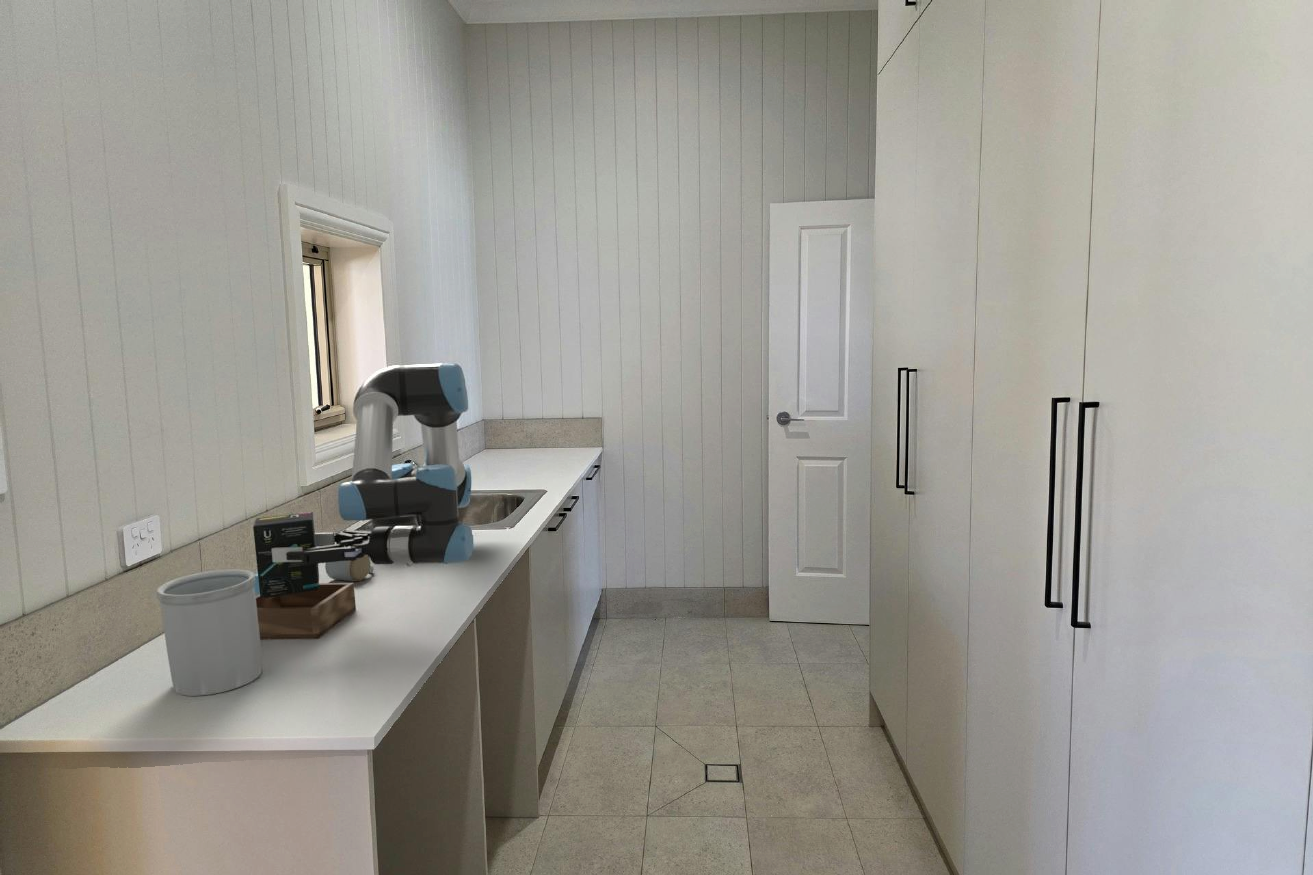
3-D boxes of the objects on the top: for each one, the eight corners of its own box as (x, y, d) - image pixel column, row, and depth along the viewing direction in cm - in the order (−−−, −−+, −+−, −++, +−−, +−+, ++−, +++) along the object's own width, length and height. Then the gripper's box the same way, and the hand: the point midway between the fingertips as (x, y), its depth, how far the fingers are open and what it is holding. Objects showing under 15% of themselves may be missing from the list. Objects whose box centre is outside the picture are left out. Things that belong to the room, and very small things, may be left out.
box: (279, 610, 183) (276, 583, 182) (356, 610, 182) (353, 582, 181) (234, 639, 166) (231, 609, 165) (318, 638, 165) (315, 608, 164)
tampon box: (319, 579, 178) (313, 510, 177) (319, 590, 170) (313, 518, 168) (262, 587, 174) (255, 516, 173) (259, 599, 166) (252, 525, 164)
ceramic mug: (352, 585, 200) (350, 553, 200) (325, 582, 203) (323, 551, 203) (382, 573, 210) (380, 543, 209) (356, 571, 213) (354, 541, 212)
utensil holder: (162, 705, 137) (150, 599, 134) (173, 673, 150) (162, 576, 148) (263, 687, 142) (253, 585, 140) (265, 657, 156) (256, 564, 154)
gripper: (371, 580, 159) (258, 582, 160) (416, 548, 182) (318, 550, 184) (367, 540, 158) (254, 543, 159) (414, 514, 181) (315, 516, 183)
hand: (288, 547), depth 172 cm, fingers closed on tampon box, 11 cm apart
